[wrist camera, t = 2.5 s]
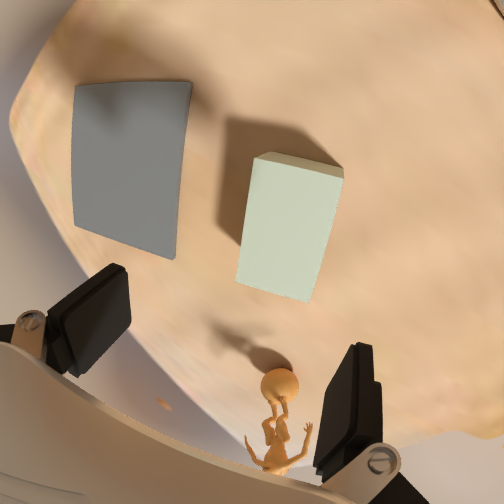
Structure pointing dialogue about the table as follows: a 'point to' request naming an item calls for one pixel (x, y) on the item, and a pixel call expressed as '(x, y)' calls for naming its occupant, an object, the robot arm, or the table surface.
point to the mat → (129, 161)
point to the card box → (287, 223)
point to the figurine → (279, 422)
